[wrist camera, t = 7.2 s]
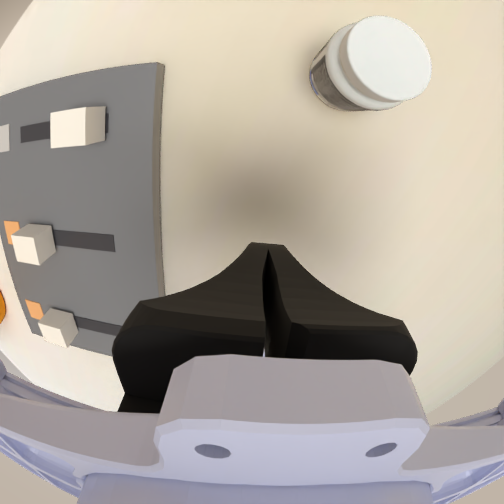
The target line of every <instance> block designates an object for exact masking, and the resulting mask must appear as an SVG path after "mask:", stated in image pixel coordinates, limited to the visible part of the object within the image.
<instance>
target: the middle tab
mask: <svg viewBox="0 0 504 504" xmlns="http://www.w3.org/2000/svg"><path fill="white" fill-rule="evenodd" d="M11 238H12V243H13V247H14V251H15V255H16V259H17V261H18V262H24V263H29V264H34V265H41V264H42V263H43V262H44V261H45V260H47V259H48V258H49V257H50V256H51V255H53V254H54V253H55V252H56V249H55V244H54V239H53V233H52V227H51V225H39V224H27V225H26V226H24V227H22V228H21V229H19V230H18V231H16V232H15V233H13V234H12V235H11Z"/></svg>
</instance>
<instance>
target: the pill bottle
mask: <svg viewBox="0 0 504 504" xmlns="http://www.w3.org/2000/svg"><path fill="white" fill-rule="evenodd" d="M431 73H432V64H431V58H430V55H429V52H428V49H427V47H426V45H425V44H424V42H423V40H422V39H421V38H420V36H419V35H418V34H417V33H416V32H415V31H414V30H413V29H412V28H411V27H409V26H408V25H406V24H405V23H403V22H401V21H399V20H397V19H395V18H391V17H387V16H370V17H367V18H364V19H362V20H360V21H359V22H357V23H352V24H349V25H347V26H345V27H343V28H341V29H340V30H338V31H337V32H336V33H335V34H334V35H333V36H332V37H331V38H330V40H329V41H328V42H327V44H326V45H325V46H324V47H323V48H322V49H321V51H320V52H319V53H318V54H317V55H316V57H315V58H314V60H313V62H312V64H311V68H310V82H311V85H312V88H313V90H314V92H315V93H316V95H317V96H318V97H319V99H320V100H321V101H323V102H324V103H325V104H327V105H328V106H330V107H332V108H334V109H337V110H341V111H365V110H376V111H379V110H387V109H390V108H393V107H395V106H397V105H399V104H401V103H402V102H404V101H406V100H410V99H413V98H415V97H417V96H419V95H420V94H421V93H422V92H423V91H424V90H425V88H426V87H427V85H428V83H429V81H430V78H431Z"/></svg>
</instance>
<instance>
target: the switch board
mask: <svg viewBox="0 0 504 504" xmlns="http://www.w3.org/2000/svg"><path fill="white" fill-rule="evenodd" d="M164 68H165V66H164V65H162V64H160V63H158V62H156V63H145V64H135V65H127V66H120V67H113V68H106V69H101V70H95V71H90V72H85V73H80V74H75V75H71V76H66V77H62V78H58V79H54V80H50V81H47V82H43V83H40V84H36V85H33V86H30V87H27V88H23V89H20V90H17V91H14V92H12V93H9V94H6V95H3V96H1V97H0V235H1V239H2V244H3V248H4V252H5V256H6V259H7V263H8V266H9V270H10V273H11V277H12V280H13V283H14V286H15V289H16V292H17V295H18V298H19V301H20V303H21V306H22V309H23V311H24V314H25V317H26V319H27V322H28V324H29V327H30V329H31V331H32V333H34V334H37V335H40V336H43V335H42V332H41V330H40V327H39V325H38V322H39V321H40V319H41V318H42V317H43V316H44V315H45V314H46V312H47V311H48V310H49V309H50V308H52V309H56V310H60V311H64V312H68V313H72V314H73V317H74V320H75V323H76V326H77V329H78V334H77V335H76V336H75V338H74V339H73V341H72V342H71V344H70V345H71V346H75V347H78V348H82V349H85V350H89V351H93V352H97V353H100V354H104V355H108V356H112V346H113V342H114V339H115V338H116V336H117V334H118V332H119V331H120V329H121V327H122V326H123V324H124V322H125V320H126V319H127V317H128V316H129V314H130V313H131V311H132V310H133V309H134V308H135V306H136V305H137V304H138V302H139V301H141V300H148V299H153V298H158V297H163V296H165V289H164V276H163V262H162V245H161V222H160V131H161V109H162V93H163V80H164ZM100 106H106V108H105V141H101V142H97V143H93V144H89V145H83V146H71V147H60V148H51V136H50V115H51V113H53V112H58V111H64V110H70V109H76V108H83V107H100ZM27 224H39V225H51V227H52V233H53V239H54V244H55V249H56V252H55V253H54V254H53V255H51V256H50V257H49V258H48V259H47V260H45V261H44V262H43V263H42V264H41V265H34V264H29V263H24V262H18V261H17V259H16V255H15V251H14V247H13V243H12V238H11V235H12V234H13V233H15V232H16V231H18V230H19V229H21V228H22V227H24V226H26V225H27Z"/></svg>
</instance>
